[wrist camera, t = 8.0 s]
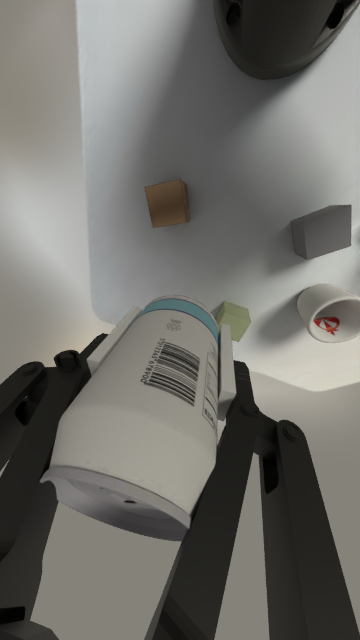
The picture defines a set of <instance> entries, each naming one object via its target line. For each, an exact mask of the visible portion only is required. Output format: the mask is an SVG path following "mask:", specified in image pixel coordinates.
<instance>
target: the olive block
mask: <svg viewBox="0 0 360 640" xmlns="http://www.w3.org/2000/svg"><path fill="white" fill-rule="evenodd" d="M216 322H217V325H218V332H219V329H220V325H221V323H222V324H227V325H230V328H231V340H234V341H237V342H239V341H240V339H241V338H242V336H243V334H244V333H245V331H246V330H247V328H248V326H249V325H250V323H251V320H250V316H249V312H248V309H245V308H243V307H240V306H237V305H234V304H231V303H228V302H225V301H224V303H223V305H222V307H221V309H220V311H219V313H218V315H217V318H216Z"/></svg>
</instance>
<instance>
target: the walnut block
mask: <svg viewBox="0 0 360 640" xmlns="http://www.w3.org/2000/svg"><path fill="white" fill-rule="evenodd" d="M145 191H146V196H147V201H148V206H149V211H150V216H151V221H152V226H153V228H155V227H161V226H167V225H173V224H179V223H185V222H188V221H190V217H189V207H188V198H187V188H186V184H185V183H184V182H183V181H182V180H180V179H179V180H175V181H170V182H166V183H161V184H157V185H152V186H148V187H145Z"/></svg>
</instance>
